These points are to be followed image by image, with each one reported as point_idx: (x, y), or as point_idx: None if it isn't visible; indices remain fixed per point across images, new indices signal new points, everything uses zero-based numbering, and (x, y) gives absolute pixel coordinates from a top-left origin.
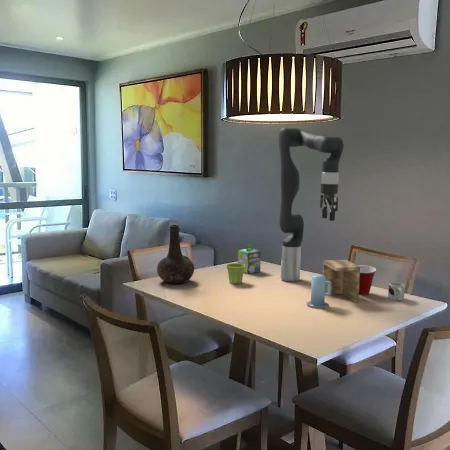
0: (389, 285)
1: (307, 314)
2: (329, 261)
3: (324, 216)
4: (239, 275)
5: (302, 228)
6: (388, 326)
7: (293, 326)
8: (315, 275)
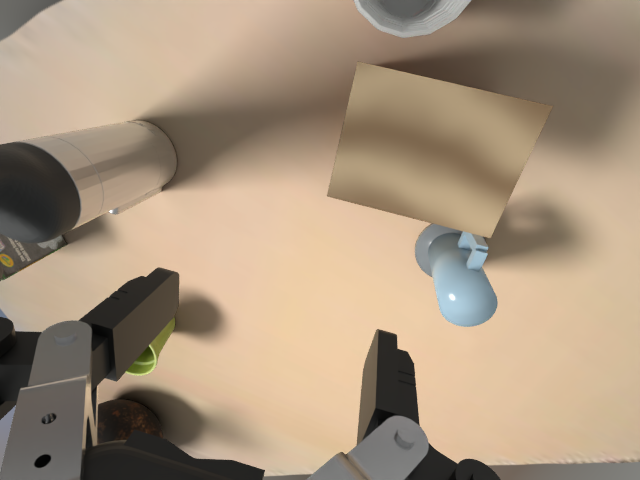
0: None
1: (502, 319)
2: (357, 181)
3: (167, 306)
4: (164, 334)
5: None
6: None
7: (556, 391)
8: (455, 309)
